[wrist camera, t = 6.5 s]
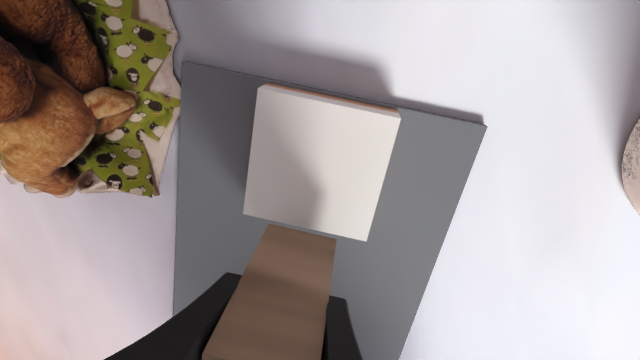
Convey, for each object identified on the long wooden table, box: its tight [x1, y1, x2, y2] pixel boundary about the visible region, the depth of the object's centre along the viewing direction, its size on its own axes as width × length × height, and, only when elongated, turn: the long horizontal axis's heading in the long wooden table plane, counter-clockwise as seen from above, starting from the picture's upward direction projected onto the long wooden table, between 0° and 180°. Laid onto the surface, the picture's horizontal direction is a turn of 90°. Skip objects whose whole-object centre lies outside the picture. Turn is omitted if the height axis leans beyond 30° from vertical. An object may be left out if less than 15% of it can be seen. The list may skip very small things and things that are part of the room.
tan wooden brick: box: [202, 224, 337, 360], centre depth 13 cm, size 3×3×7 cm
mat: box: [173, 61, 487, 360], centre depth 20 cm, size 16×14×1 cm
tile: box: [243, 83, 401, 241], centre depth 17 cm, size 2×6×6 cm
